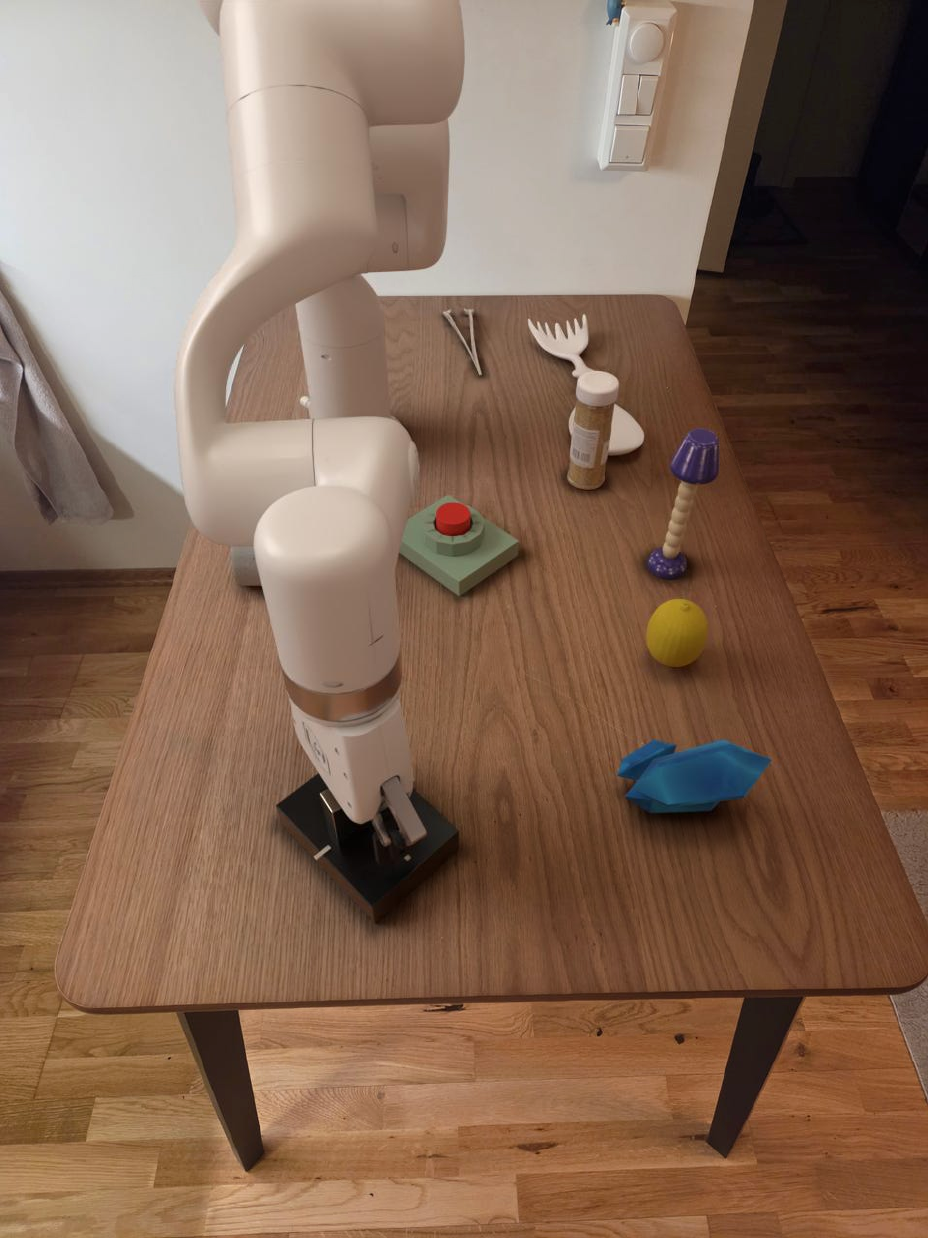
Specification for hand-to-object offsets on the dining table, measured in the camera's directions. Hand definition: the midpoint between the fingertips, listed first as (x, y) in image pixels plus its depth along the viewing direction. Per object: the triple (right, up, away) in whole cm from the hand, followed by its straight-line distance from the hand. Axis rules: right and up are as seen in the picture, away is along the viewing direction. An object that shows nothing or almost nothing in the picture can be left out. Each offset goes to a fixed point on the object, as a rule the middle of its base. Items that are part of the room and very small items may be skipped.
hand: (364, 806), depth 67 cm
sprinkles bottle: (+22, +31, +36) cm, 52 cm away
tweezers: (+8, +54, +57) cm, 79 cm away
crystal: (+26, -1, +6) cm, 27 cm away
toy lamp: (+30, +20, +26) cm, 44 cm away
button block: (+7, +22, +27) cm, 36 cm away
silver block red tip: (0, -1, +1) cm, 2 cm away
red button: (+7, +25, +24) cm, 35 cm away
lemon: (+28, +10, +17) cm, 34 cm away
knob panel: (0, -3, +4) cm, 5 cm away
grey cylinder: (-12, +20, +25) cm, 34 cm away
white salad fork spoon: (+24, +44, +48) cm, 70 cm away
